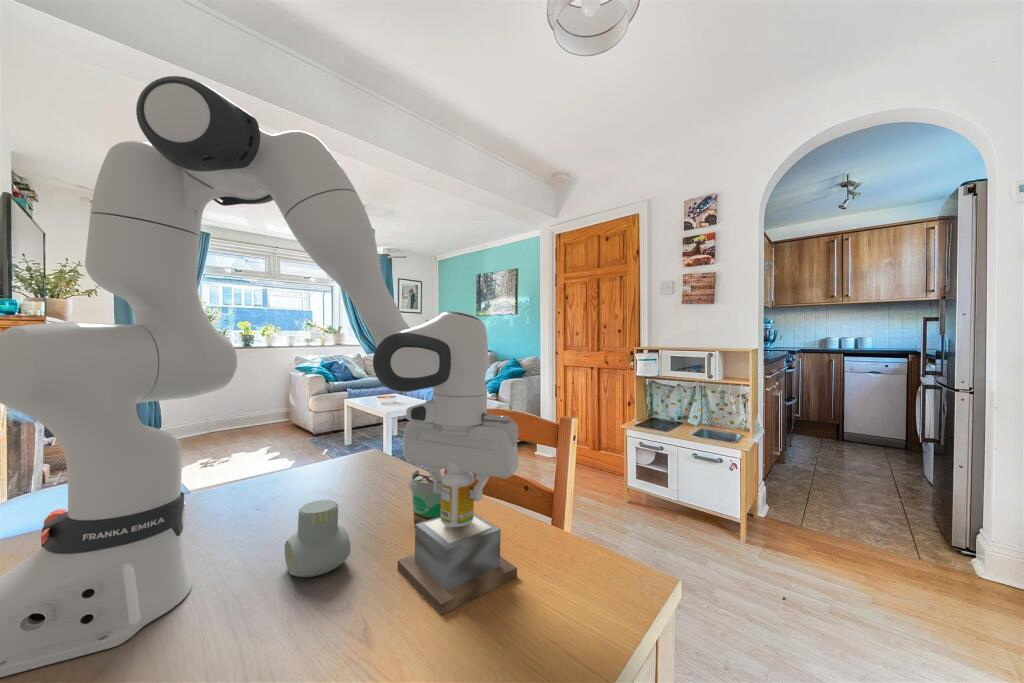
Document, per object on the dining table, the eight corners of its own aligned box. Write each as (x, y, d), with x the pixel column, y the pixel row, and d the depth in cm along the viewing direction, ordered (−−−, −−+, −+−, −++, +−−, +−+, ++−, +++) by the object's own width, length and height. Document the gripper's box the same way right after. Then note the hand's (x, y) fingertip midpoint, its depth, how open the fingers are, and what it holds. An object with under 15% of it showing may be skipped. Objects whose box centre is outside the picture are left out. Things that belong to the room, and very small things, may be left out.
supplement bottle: (475, 513, 65) (477, 456, 65) (470, 528, 59) (472, 466, 59) (444, 512, 65) (446, 455, 65) (436, 527, 60) (438, 465, 60)
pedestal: (440, 615, 52) (442, 558, 52) (397, 569, 63) (398, 522, 63) (517, 576, 61) (518, 528, 61) (468, 542, 72) (468, 501, 72)
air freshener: (353, 572, 61) (355, 510, 62) (296, 593, 56) (298, 525, 56) (333, 545, 70) (335, 490, 70) (281, 561, 64) (283, 502, 64)
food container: (394, 526, 77) (395, 477, 78) (415, 515, 83) (416, 469, 83) (442, 542, 72) (444, 488, 72) (461, 528, 77) (462, 479, 77)
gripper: (525, 414, 61) (523, 500, 61) (421, 404, 69) (418, 480, 69) (510, 420, 55) (507, 515, 55) (398, 408, 63) (395, 491, 63)
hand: (457, 495), depth 62 cm, fingers closed on supplement bottle, 5 cm apart
